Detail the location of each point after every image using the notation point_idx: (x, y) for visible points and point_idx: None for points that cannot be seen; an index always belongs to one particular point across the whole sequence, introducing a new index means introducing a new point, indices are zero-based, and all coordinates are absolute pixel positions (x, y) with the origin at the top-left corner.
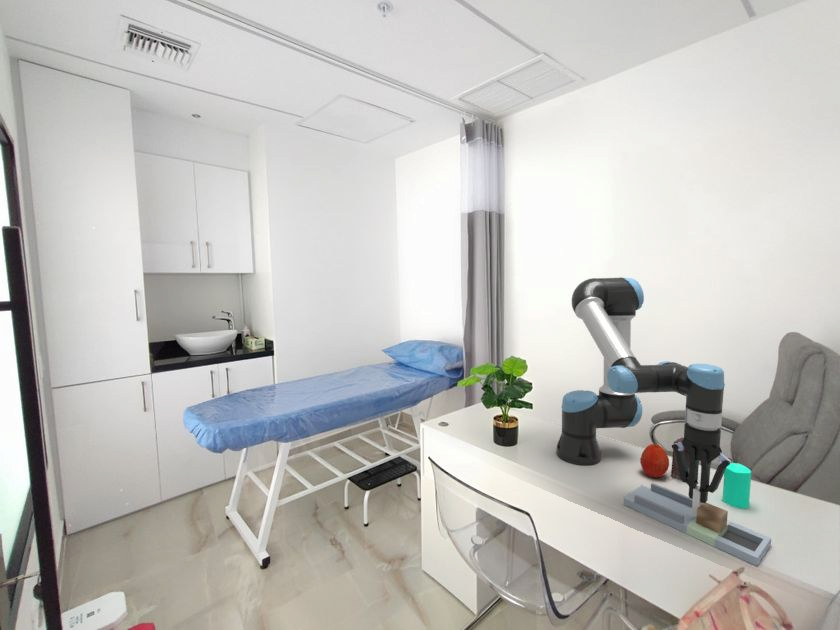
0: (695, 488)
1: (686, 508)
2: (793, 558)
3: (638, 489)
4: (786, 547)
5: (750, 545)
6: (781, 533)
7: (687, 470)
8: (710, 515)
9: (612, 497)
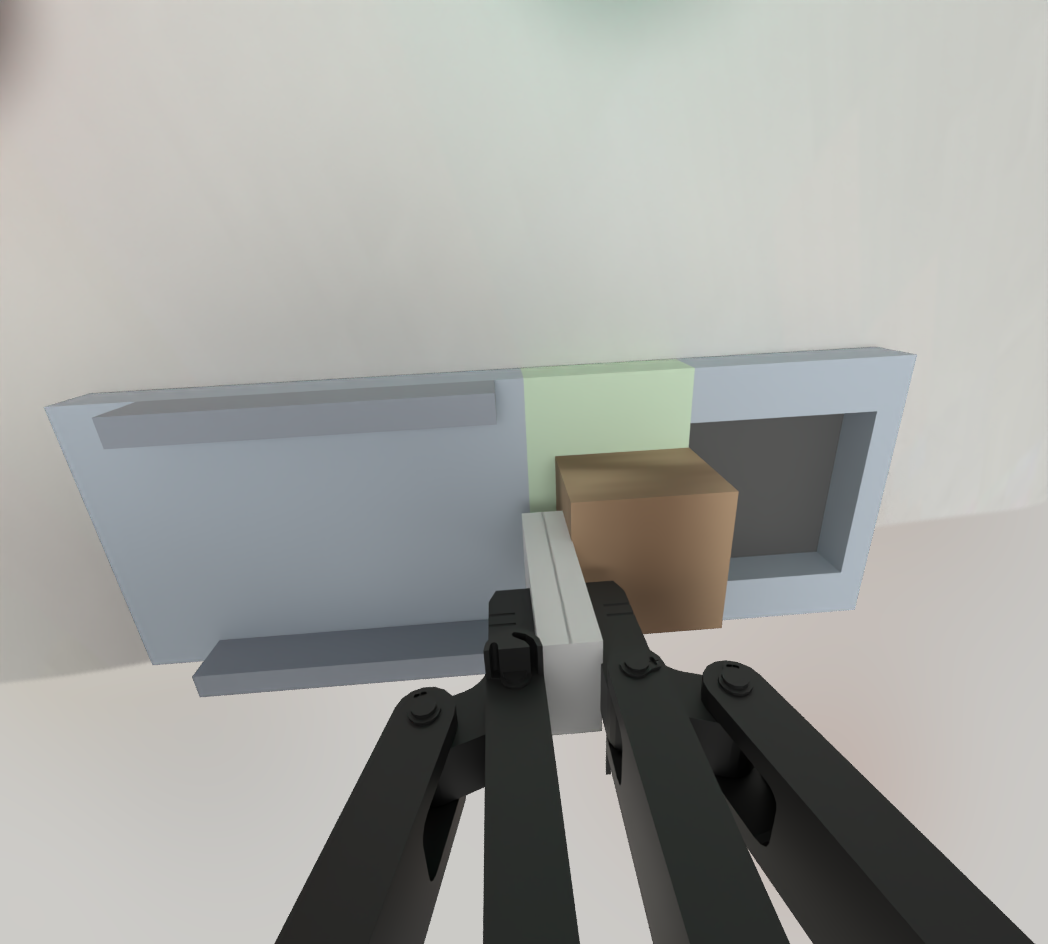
0: (552, 713)
1: (442, 457)
2: (971, 373)
3: (99, 498)
4: (949, 284)
5: (794, 457)
6: (937, 107)
7: (419, 843)
8: (657, 628)
9: (91, 622)
